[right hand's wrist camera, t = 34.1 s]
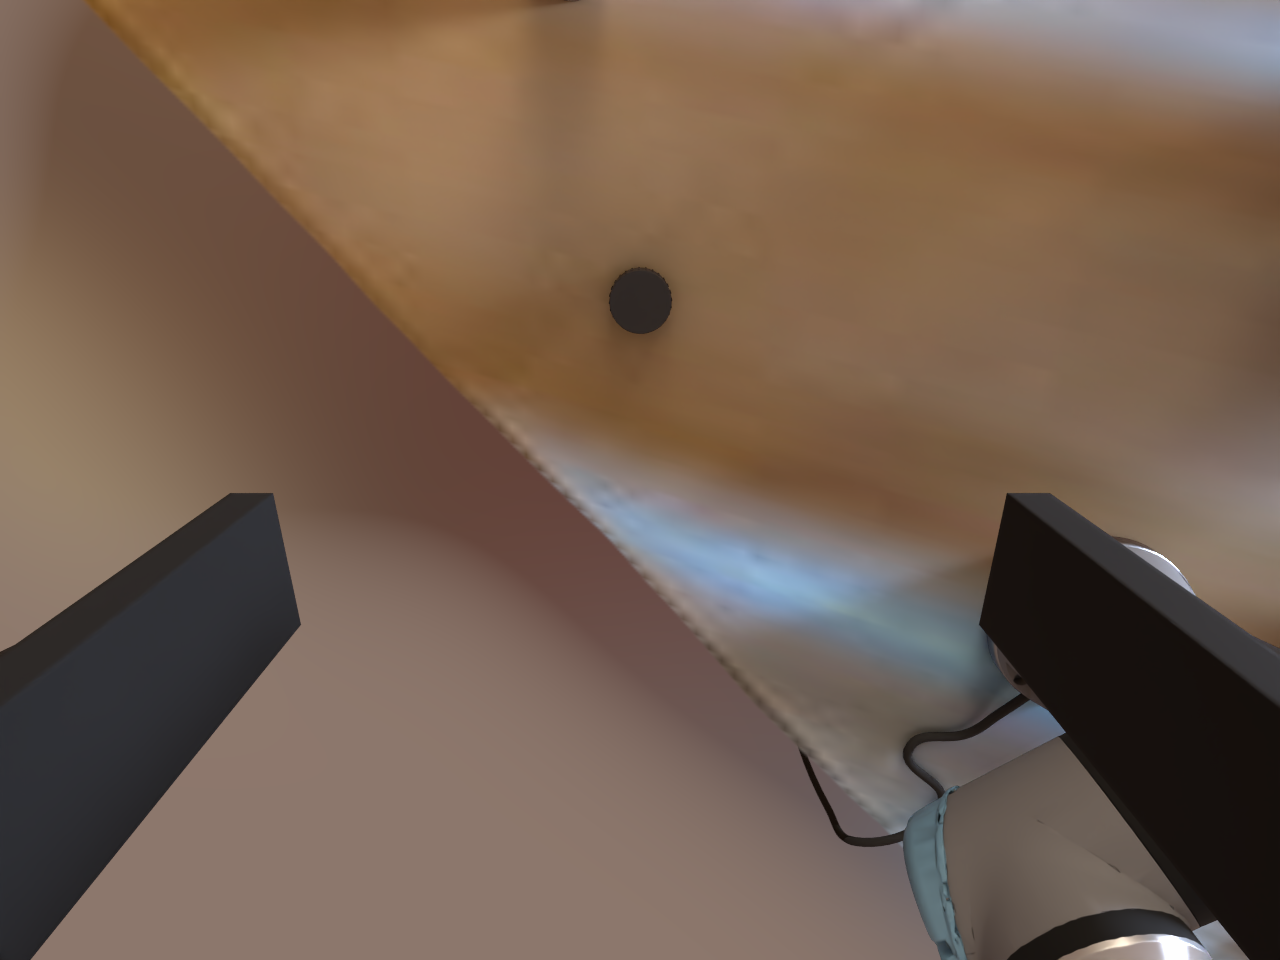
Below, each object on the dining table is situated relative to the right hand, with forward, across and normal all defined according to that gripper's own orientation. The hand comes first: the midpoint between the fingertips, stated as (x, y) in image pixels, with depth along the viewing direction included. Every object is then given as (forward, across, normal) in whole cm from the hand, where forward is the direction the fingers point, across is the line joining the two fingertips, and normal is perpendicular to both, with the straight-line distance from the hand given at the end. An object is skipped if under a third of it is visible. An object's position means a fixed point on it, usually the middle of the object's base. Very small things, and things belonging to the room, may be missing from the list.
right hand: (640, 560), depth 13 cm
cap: (+36, 0, 0) cm, 36 cm away
